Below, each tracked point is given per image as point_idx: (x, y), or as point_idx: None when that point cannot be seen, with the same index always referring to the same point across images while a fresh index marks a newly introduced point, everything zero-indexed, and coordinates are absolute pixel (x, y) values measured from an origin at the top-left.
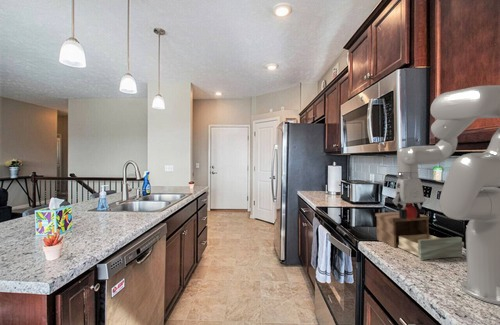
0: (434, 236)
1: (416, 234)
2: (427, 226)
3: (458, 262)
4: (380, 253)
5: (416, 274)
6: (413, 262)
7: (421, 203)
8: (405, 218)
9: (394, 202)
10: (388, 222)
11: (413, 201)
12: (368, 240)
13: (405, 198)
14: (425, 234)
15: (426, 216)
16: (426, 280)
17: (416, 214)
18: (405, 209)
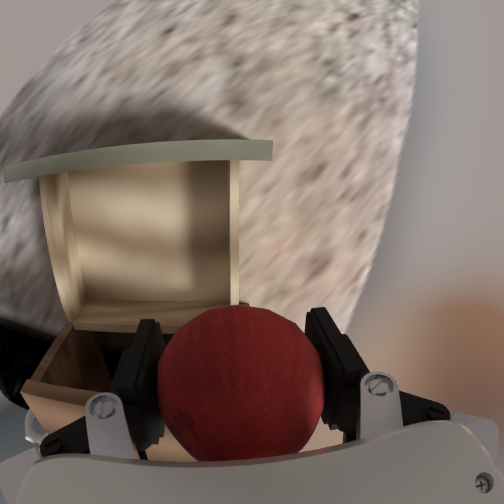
0: (59, 289)
1: (93, 368)
2: (50, 355)
3: (112, 106)
4: (354, 253)
5: (371, 55)
6: (301, 136)
7: (61, 447)
8: (322, 307)
9: (482, 423)
10: None
11: (284, 478)
12: None
13: (477, 472)
14: (81, 325)
15: (31, 395)
16: (370, 20)
17: (205, 318)
18: (323, 393)
